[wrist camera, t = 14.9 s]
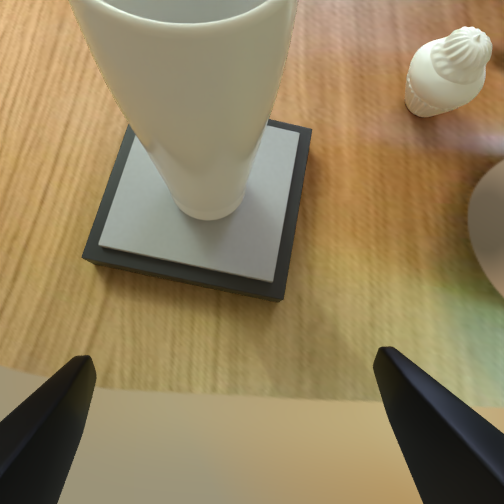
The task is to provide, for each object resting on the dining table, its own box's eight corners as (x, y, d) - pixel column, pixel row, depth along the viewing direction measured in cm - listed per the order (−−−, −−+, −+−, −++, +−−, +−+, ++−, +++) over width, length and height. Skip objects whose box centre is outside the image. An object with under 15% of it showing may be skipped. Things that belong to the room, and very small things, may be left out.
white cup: (140, 182, 22) (-17, -101, 8) (214, 131, 24) (198, -187, 9) (202, 252, 21) (156, 83, 7) (274, 194, 23) (362, -46, 8)
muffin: (444, 75, 30) (507, 2, 23) (458, 131, 29) (531, 69, 22) (383, 75, 30) (430, 0, 23) (395, 132, 28) (450, 69, 21)
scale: (278, 302, 23) (284, 299, 21) (92, 263, 23) (77, 255, 20) (306, 143, 27) (314, 124, 25) (146, 106, 26) (138, 84, 24)
